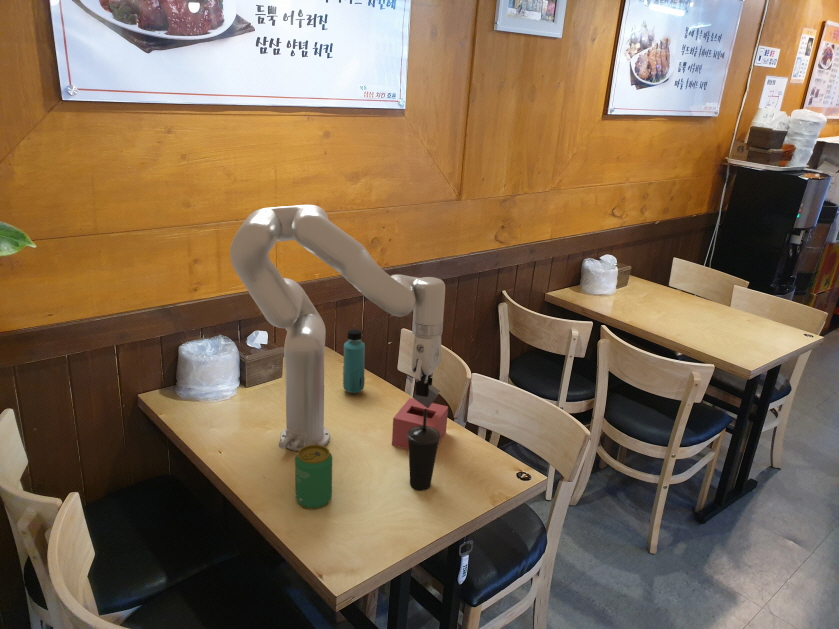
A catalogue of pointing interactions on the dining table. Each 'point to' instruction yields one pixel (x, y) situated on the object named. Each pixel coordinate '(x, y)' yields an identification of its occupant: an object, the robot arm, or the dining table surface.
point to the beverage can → (313, 476)
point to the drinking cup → (422, 454)
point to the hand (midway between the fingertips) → (423, 392)
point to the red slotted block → (417, 420)
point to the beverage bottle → (354, 362)
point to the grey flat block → (430, 398)
